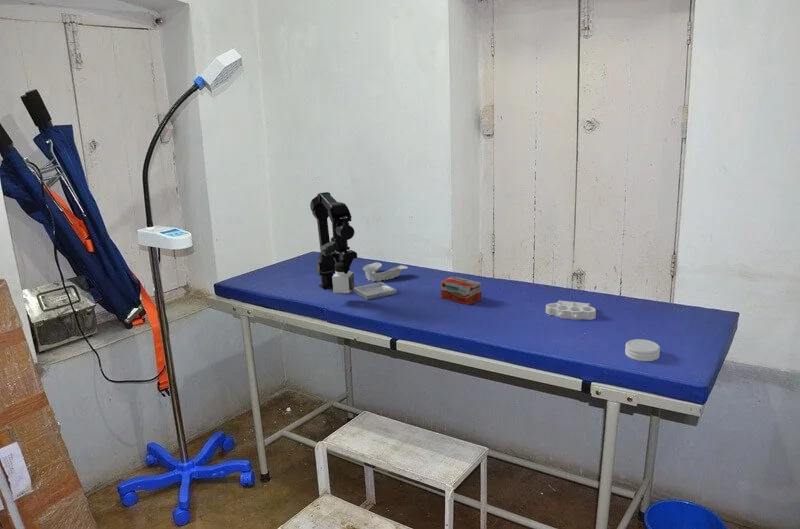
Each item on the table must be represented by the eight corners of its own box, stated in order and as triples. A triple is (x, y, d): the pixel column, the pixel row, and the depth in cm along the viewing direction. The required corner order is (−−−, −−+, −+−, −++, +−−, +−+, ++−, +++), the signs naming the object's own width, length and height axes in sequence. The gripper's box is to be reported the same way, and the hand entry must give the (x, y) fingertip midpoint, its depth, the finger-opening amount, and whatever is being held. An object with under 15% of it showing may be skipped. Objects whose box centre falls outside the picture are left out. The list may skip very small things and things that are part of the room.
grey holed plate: (598, 310, 223) (593, 324, 211) (550, 305, 231) (542, 318, 218) (599, 302, 223) (593, 315, 210) (550, 297, 230) (542, 309, 218)
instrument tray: (353, 291, 259) (352, 287, 258) (381, 285, 265) (381, 281, 265) (367, 299, 247) (366, 295, 247) (396, 293, 254) (396, 289, 253)
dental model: (350, 279, 278) (349, 269, 277) (372, 269, 292) (372, 260, 290) (389, 285, 265) (389, 275, 264) (411, 275, 279) (410, 265, 277)
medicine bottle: (349, 293, 241) (347, 265, 238) (333, 292, 243) (330, 264, 240) (354, 287, 248) (352, 260, 245) (338, 287, 250) (336, 260, 246)
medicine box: (481, 300, 240) (481, 281, 238) (469, 306, 234) (469, 287, 232) (452, 293, 250) (452, 275, 248) (440, 299, 244) (439, 280, 242)
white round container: (652, 365, 177) (653, 354, 176) (619, 356, 183) (620, 346, 182) (664, 353, 184) (664, 343, 183) (632, 346, 191) (632, 336, 190)
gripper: (312, 233, 243) (316, 270, 248) (330, 242, 227) (333, 280, 232) (337, 229, 248) (340, 265, 253) (356, 237, 233) (359, 275, 237)
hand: (342, 271), depth 243 cm, fingers closed on medicine bottle, 6 cm apart
